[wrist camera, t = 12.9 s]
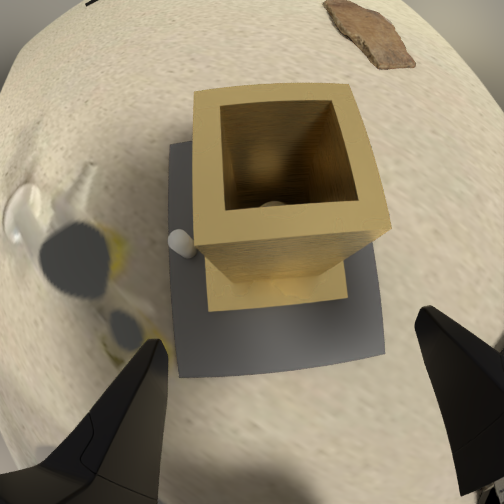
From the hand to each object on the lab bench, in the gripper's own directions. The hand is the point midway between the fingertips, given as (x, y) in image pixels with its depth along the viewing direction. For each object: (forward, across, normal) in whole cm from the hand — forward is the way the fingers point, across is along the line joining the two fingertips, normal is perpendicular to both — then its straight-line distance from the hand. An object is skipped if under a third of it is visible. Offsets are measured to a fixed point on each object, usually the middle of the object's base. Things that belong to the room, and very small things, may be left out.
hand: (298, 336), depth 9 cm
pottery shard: (+28, -14, -15) cm, 35 cm away
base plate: (+10, 0, +3) cm, 10 cm away
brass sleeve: (+9, 0, +2) cm, 9 cm away
